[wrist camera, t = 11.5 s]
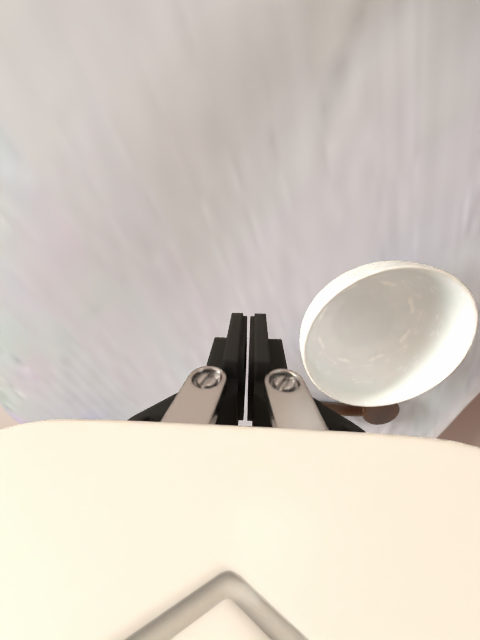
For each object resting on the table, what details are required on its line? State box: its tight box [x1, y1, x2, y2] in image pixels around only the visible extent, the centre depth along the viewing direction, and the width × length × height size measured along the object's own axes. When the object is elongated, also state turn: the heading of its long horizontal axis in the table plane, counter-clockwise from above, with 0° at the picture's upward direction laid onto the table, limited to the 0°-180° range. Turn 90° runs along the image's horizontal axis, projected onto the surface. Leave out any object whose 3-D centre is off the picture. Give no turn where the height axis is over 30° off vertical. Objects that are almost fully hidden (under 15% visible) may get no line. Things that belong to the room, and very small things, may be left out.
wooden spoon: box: [321, 402, 399, 425], centre depth 35 cm, size 20×5×2 cm, turn 89°
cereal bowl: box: [300, 260, 478, 407], centre depth 27 cm, size 17×17×7 cm
